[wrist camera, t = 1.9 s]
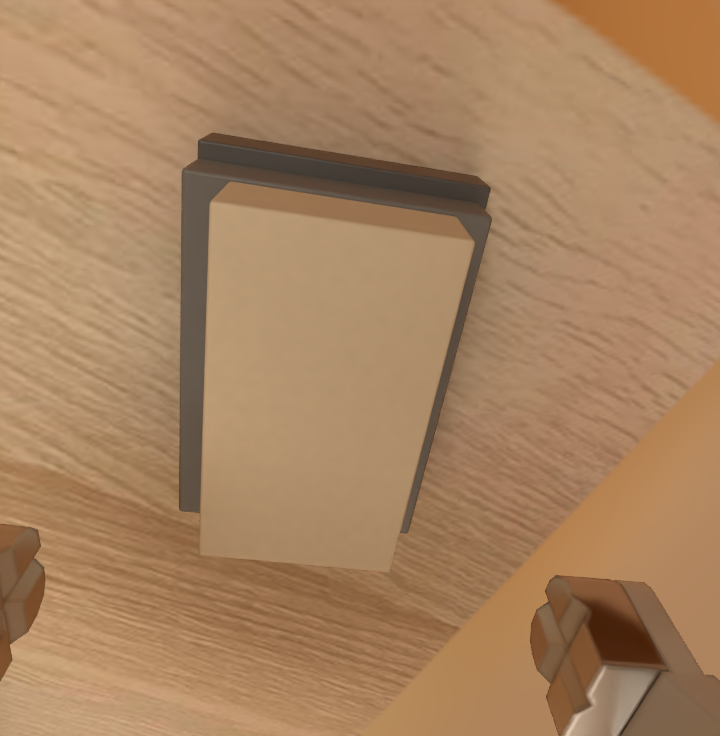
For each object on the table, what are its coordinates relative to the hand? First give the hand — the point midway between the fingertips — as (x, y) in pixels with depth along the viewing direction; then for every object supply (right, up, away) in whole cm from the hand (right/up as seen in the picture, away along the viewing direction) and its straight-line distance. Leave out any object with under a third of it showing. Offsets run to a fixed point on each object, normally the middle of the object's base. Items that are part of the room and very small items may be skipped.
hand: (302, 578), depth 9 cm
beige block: (0, +3, +5) cm, 6 cm away
